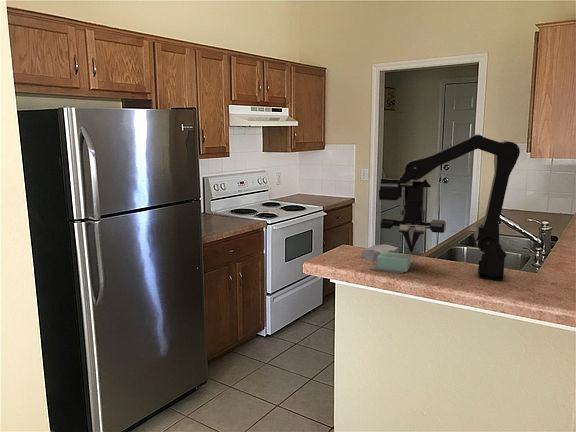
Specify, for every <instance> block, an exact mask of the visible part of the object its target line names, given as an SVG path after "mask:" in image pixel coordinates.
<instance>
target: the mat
mask: <svg viewBox="0 0 576 432" xmlns="http://www.w3.org/2000/svg"><path fill="white" fill-rule="evenodd" d="M370 270H371V271H378V272H386V273H393V274H394V273H396V274H404V273H405V272H404V271H396V270H387V269H379V268H377V261H375V263H374V264H373V265H372V266H371V268H370Z"/></svg>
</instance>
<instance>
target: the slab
mask: <svg viewBox="0 0 576 432" xmlns="http://www.w3.org/2000/svg"><path fill="white" fill-rule="evenodd" d="M411 261H412V254H411V253H410V254H409V253H408V254H407V253H400V252H399V253H391V252H382V253H381V254H380V255H379V256H378V260H377V261H376V262H377V268H379V269H387V270H396V271H404V273H405V272H406V273H407V272H408V270H409V269H410V267H411V265H412V264H411Z"/></svg>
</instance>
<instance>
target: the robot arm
mask: <svg viewBox="0 0 576 432" xmlns="http://www.w3.org/2000/svg"><path fill="white" fill-rule="evenodd" d="M476 150H480V151H483V152H487V153H489V154H492V155H493V157H494V158H493V168H494V169H493V170H494V173H493V178H492V182H491V188H490V191H489V195H488V202H487V205H486V209H485V215H484V219H483V221H482V223H481V224H480V223H478V222H477V223H476V227H475V232H474V234H473V238H474V240H475V242H476V245H477V248H478V250H479V251H481V252H482V254H481V257H480V258H479V259H478V267H477V269H478V270H477V271H478V272H477V274H478V275H479V279H486V280H487V279H488V280H495V281H504V279H505V278H504V276H505V275H504V272H505V261H506V257H507V255H508V254H507V253H506V251H505V249H504V247H503V246H502V245H501V244H500V219H501V215H502V210H503V206H504V201H505V197H506V192H507V188H508V183H509V178H510V176H511V173H512V172H513V169H514V168H515V166H516V164H517V161H518V159H519V157H520V154H521V149H520V147H519V145H518V144H517V143H515V142H513V141H510V140H503V141H497V140H493V139H491V138H487V137H484V136H482V135H481V134H474V135H471V136H470V137H468V138H466V139H464V140H461V141H460V142H457V143H455V144H453V145H451V146H448V147H446V148H445V149H442V150H440V151H438V152H436V153H435V152H434V154H429V155H426V156H422V157H418V158H414V159H412V160H409V161H408V162H407V163H406V165H405V168H404V173H402V175H400V177H399V178H386V177H381V178H380V184H379V190H378V200H379V201H387V202H392V201H393V202H398V201H399V199H400V198H401V199H402V198H403V206H402V210H401V216H402V217H403V219H401V220H399V219H398V218H397V216H384V217H383V218H381V220H380V227H379V228H380V229H385V230H386V229H387V230H388V229H389V230H391V229H392V228H393V227H399V229H398V232H399V233H402V236H403V237H404V239H405V242H406V244H407V247H408V249H409V252H410V253H413V252H414V251H415V247H416V245H417V243H418V240H419V237H421V235H425V233H426V231H427V229H430V231H431V232H432V233H435V234H436V233H437V234H438V233H439V234H444V233H445V231H446V230H447V222H446V221H445V220H442V219H441V220H440V219H432V220H431V221H430V222H429V221H425V216H426V211H425V209H424V206H425V205H424V201H425V200H424V199H425V188H431V187H432V184H431V183H430V182H429V181H428V180H427V178H424V177H425V176H426V175H428V174H429V173H431V172H432V171H433V170H435V169H436V168H438V167H439V166H441V165H444V164H446V163H449V162H452V161H453V160H455V159H458V158H459V157H462V156H464V155H466V154H469V153H471V152H473V151H476ZM422 178H424V179H423V180H422V181H420V179H422ZM410 181H412V183H409V182H410ZM403 188H404V197H403ZM412 228H414V231H412V230H413V229H412ZM412 232H413V233H412Z"/></svg>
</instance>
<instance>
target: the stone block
mask: <svg viewBox="0 0 576 432" xmlns="http://www.w3.org/2000/svg"><path fill="white" fill-rule="evenodd" d="M382 252H391V253H400V248H399V247H398V246H394V245H390V244H374V245H372V246H369V247H368V248H366V249H363V250H362V251H361V257H362V259H363V260H365V261H371V262H377V260H378V256H379V255H380V254H381V253H382Z"/></svg>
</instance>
